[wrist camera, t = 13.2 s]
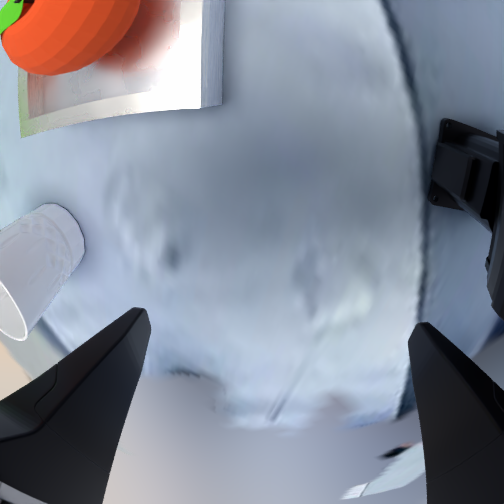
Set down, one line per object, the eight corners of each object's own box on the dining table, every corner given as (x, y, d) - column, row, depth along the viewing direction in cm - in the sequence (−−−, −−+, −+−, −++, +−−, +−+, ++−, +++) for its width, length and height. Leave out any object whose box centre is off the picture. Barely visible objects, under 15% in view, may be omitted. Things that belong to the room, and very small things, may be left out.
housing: (227, -49, 10) (211, -89, 5) (222, 104, 16) (200, 107, 11) (75, -11, 10) (31, -23, 6) (70, 122, 16) (21, 138, 12)
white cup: (23, 227, 22) (-40, 283, 13) (50, 178, 19) (-34, 233, 10) (69, 282, 25) (17, 350, 16) (105, 244, 22) (38, 324, 13)
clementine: (60, 101, 12) (-32, 126, 6) (44, 17, 9) (-37, 14, 3) (175, 42, 11) (96, 11, 5) (152, -48, 7) (86, -98, 1)
